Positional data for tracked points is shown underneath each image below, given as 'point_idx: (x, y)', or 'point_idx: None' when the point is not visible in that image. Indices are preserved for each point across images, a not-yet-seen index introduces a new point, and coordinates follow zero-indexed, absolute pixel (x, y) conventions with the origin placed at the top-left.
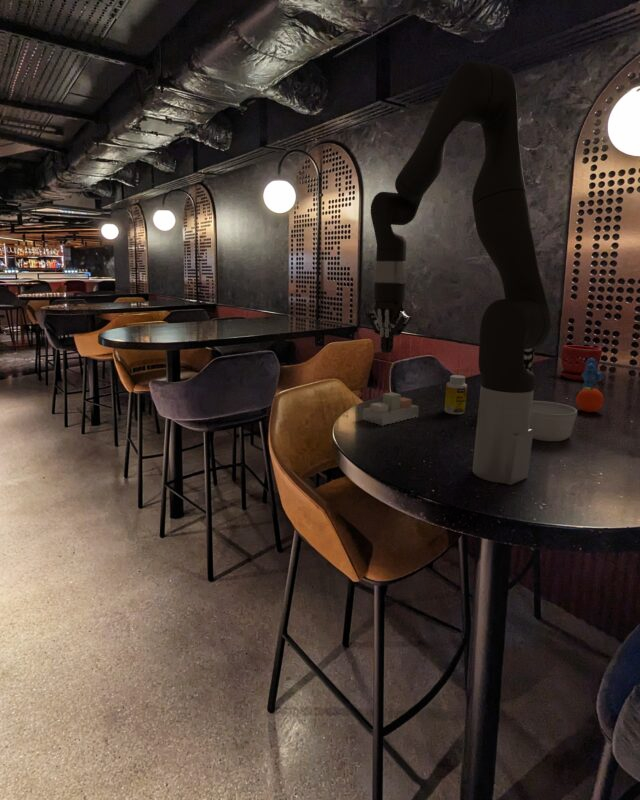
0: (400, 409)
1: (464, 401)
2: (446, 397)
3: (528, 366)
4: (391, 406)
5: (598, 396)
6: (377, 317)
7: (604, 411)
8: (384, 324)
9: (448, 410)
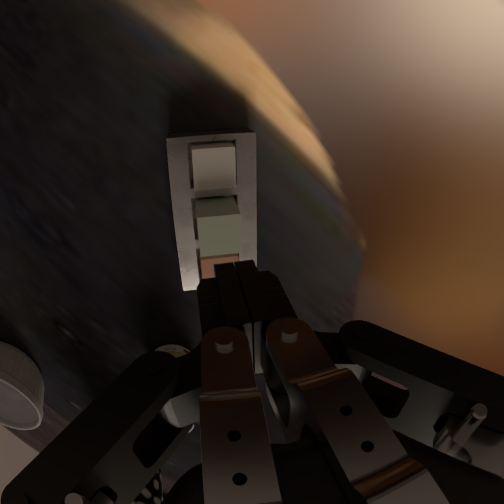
0: (183, 226)
1: None
2: None
3: None
4: (196, 204)
5: None
6: (438, 443)
7: None
8: (302, 423)
9: (168, 347)
